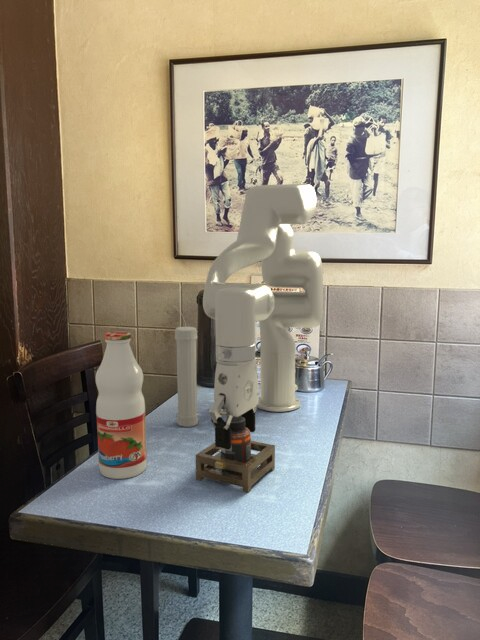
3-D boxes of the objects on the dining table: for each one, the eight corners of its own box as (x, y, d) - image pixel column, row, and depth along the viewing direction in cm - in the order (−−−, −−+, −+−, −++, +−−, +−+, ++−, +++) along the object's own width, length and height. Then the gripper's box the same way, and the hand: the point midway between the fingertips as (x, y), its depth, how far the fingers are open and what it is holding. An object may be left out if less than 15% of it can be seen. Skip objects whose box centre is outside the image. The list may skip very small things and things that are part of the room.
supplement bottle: (249, 466, 107) (249, 413, 105) (252, 479, 101) (252, 423, 99) (220, 467, 107) (219, 414, 105) (221, 481, 101) (221, 424, 99)
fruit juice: (154, 462, 109) (150, 329, 105) (134, 482, 100) (129, 338, 96) (113, 457, 112) (107, 327, 107) (90, 477, 103) (82, 336, 98)
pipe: (195, 428, 129) (193, 306, 124) (170, 426, 130) (167, 306, 125) (201, 420, 134) (199, 303, 129) (177, 418, 135) (175, 303, 131)
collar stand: (225, 457, 111) (225, 435, 111) (274, 469, 106) (274, 445, 105) (193, 481, 101) (193, 456, 100) (246, 494, 95) (245, 468, 95)
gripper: (229, 364, 91) (230, 459, 93) (272, 346, 106) (272, 428, 108) (193, 360, 94) (195, 450, 97) (240, 343, 109) (240, 422, 112)
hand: (235, 438), depth 103 cm, fingers open, 9 cm apart
